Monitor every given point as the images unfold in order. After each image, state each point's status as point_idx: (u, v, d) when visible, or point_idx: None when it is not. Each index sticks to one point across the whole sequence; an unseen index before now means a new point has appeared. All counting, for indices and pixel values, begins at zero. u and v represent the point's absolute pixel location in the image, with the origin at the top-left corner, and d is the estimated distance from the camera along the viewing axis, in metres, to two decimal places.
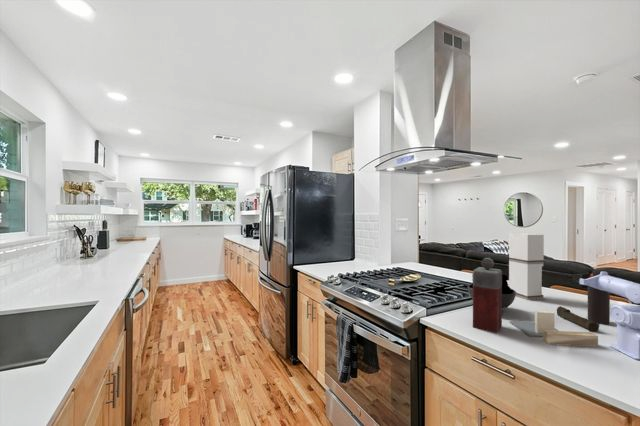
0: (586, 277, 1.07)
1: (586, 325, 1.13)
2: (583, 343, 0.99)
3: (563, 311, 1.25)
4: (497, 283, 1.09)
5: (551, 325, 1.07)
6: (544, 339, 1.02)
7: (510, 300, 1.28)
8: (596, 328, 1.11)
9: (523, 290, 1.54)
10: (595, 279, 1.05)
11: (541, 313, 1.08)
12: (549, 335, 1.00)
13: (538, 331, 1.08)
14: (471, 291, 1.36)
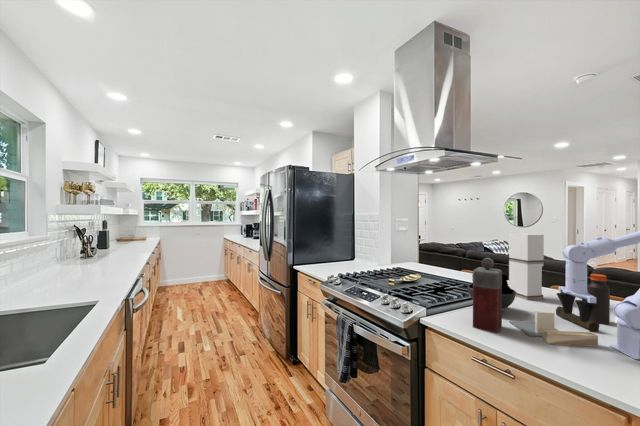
0: (582, 301, 0.96)
1: (586, 325, 1.13)
2: (583, 343, 0.99)
3: (562, 311, 1.25)
4: (497, 283, 1.09)
5: (551, 325, 1.07)
6: (544, 339, 1.02)
7: (510, 300, 1.28)
8: (597, 328, 1.11)
9: (523, 290, 1.54)
10: None
11: (541, 313, 1.08)
12: (549, 335, 1.00)
13: (538, 331, 1.08)
14: (471, 291, 1.36)
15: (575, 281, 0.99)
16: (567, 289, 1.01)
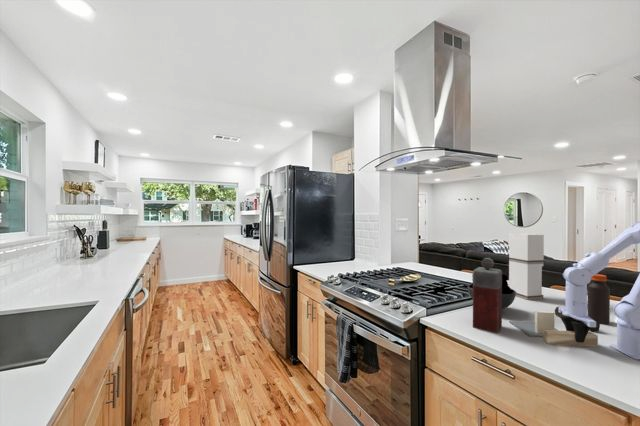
0: (577, 322, 0.98)
1: None
2: (583, 343, 0.99)
3: None
4: (497, 283, 1.09)
5: (551, 325, 1.07)
6: (544, 339, 1.02)
7: (510, 300, 1.28)
8: (597, 328, 1.11)
9: (523, 290, 1.54)
10: (579, 317, 0.98)
11: (541, 313, 1.08)
12: (549, 335, 1.00)
13: (538, 331, 1.08)
14: (471, 291, 1.36)
15: (575, 304, 0.99)
16: (567, 311, 1.01)
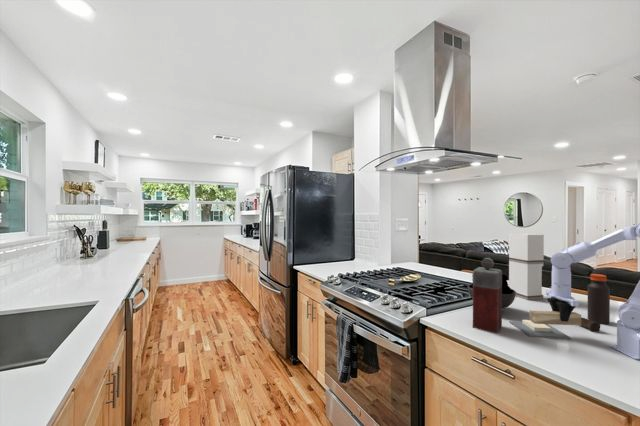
0: (562, 302, 1.06)
1: (588, 325, 1.13)
2: (567, 322, 1.06)
3: None
4: (497, 283, 1.09)
5: (543, 324, 1.12)
6: (531, 319, 1.10)
7: (510, 300, 1.28)
8: (598, 328, 1.11)
9: (523, 290, 1.54)
10: (563, 298, 1.05)
11: (526, 320, 1.17)
12: (535, 315, 1.08)
13: (534, 326, 1.10)
14: (471, 291, 1.36)
15: (560, 286, 1.06)
16: (553, 293, 1.08)
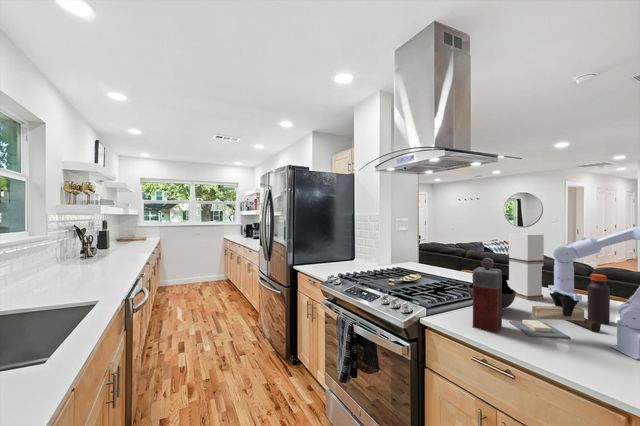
0: (565, 297, 1.04)
1: (588, 325, 1.13)
2: (570, 317, 1.05)
3: None
4: (497, 283, 1.09)
5: (543, 324, 1.12)
6: (533, 314, 1.09)
7: (510, 300, 1.28)
8: (598, 328, 1.11)
9: (523, 290, 1.54)
10: (566, 292, 1.04)
11: (526, 320, 1.17)
12: (537, 310, 1.07)
13: (534, 326, 1.10)
14: (471, 291, 1.36)
15: (562, 280, 1.05)
16: (555, 288, 1.07)
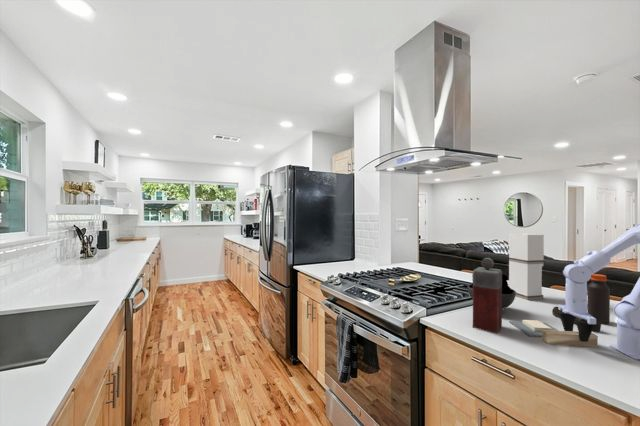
0: (581, 321, 0.97)
1: None
2: (583, 343, 0.99)
3: None
4: (497, 283, 1.09)
5: (543, 324, 1.12)
6: (543, 339, 1.03)
7: (510, 300, 1.28)
8: (599, 328, 1.11)
9: (523, 290, 1.54)
10: (579, 314, 0.98)
11: (526, 320, 1.17)
12: (548, 335, 1.00)
13: (534, 326, 1.10)
14: (471, 291, 1.36)
15: (575, 301, 0.99)
16: (567, 309, 1.01)
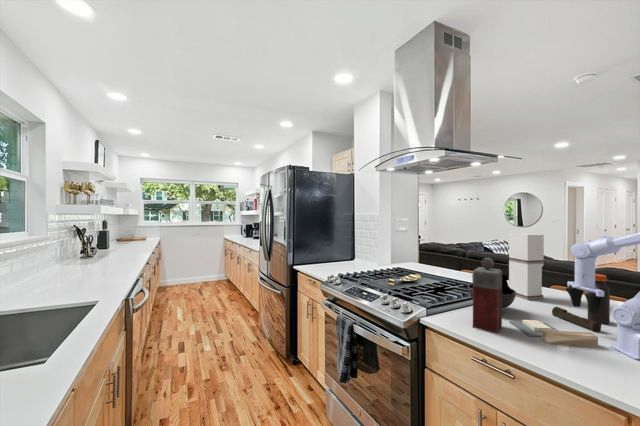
0: (590, 294, 1.04)
1: (589, 325, 1.12)
2: (583, 343, 0.99)
3: (561, 311, 1.24)
4: (497, 283, 1.09)
5: (543, 324, 1.12)
6: (543, 338, 1.03)
7: (510, 300, 1.28)
8: (599, 328, 1.11)
9: (523, 290, 1.54)
10: (588, 288, 1.05)
11: (526, 320, 1.17)
12: (547, 335, 1.01)
13: (534, 326, 1.10)
14: (471, 291, 1.36)
15: (584, 276, 1.06)
16: (576, 284, 1.09)
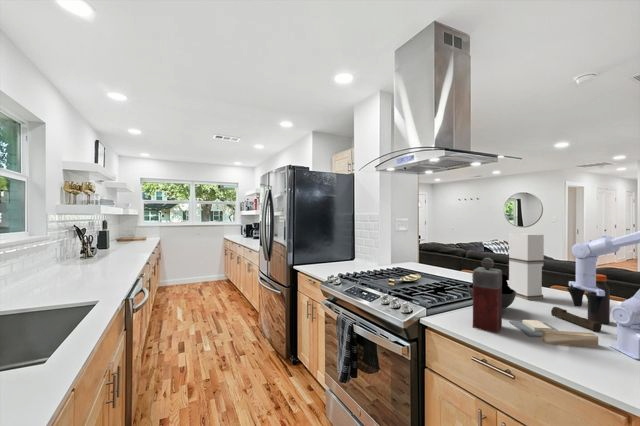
0: (591, 294, 1.05)
1: (590, 326, 1.12)
2: (583, 343, 0.99)
3: (560, 311, 1.24)
4: (497, 283, 1.09)
5: (543, 324, 1.12)
6: (542, 338, 1.03)
7: (510, 300, 1.28)
8: (600, 328, 1.11)
9: (523, 290, 1.54)
10: None
11: (526, 320, 1.17)
12: (547, 334, 1.01)
13: (534, 326, 1.10)
14: (471, 291, 1.36)
15: (585, 276, 1.07)
16: (577, 283, 1.09)
